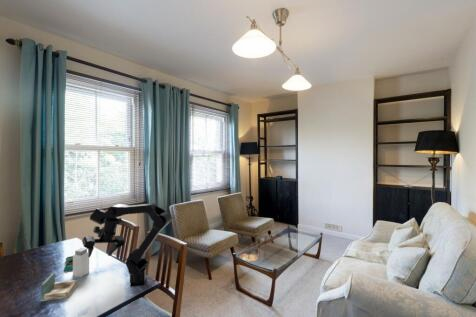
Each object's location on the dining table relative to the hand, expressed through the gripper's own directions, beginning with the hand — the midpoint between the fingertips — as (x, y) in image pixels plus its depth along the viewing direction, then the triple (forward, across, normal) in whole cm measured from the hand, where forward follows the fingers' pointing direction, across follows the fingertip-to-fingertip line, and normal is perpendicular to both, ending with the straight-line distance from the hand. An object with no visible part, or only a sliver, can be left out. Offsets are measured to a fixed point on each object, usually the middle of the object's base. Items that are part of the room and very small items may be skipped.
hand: (99, 256), depth 118 cm
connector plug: (+15, +2, -8) cm, 17 cm away
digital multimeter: (+20, +2, -22) cm, 30 cm away
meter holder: (+14, +13, +4) cm, 20 cm away
